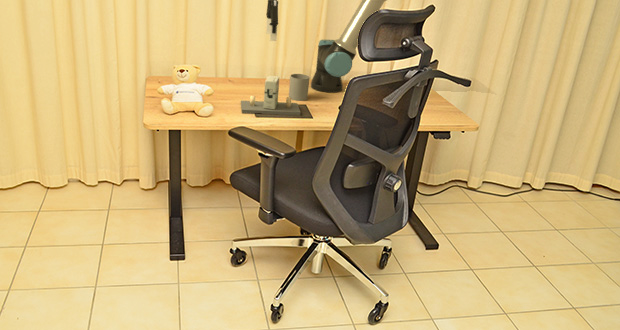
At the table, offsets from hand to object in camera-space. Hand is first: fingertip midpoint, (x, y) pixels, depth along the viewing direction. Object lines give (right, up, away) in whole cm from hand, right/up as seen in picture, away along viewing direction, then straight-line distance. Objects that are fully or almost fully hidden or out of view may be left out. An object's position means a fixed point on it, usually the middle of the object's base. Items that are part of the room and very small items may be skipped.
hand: (271, 37), depth 261 cm
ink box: (0, -31, -10) cm, 32 cm away
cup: (+11, -25, +10) cm, 30 cm away
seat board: (0, -32, -9) cm, 33 cm away
